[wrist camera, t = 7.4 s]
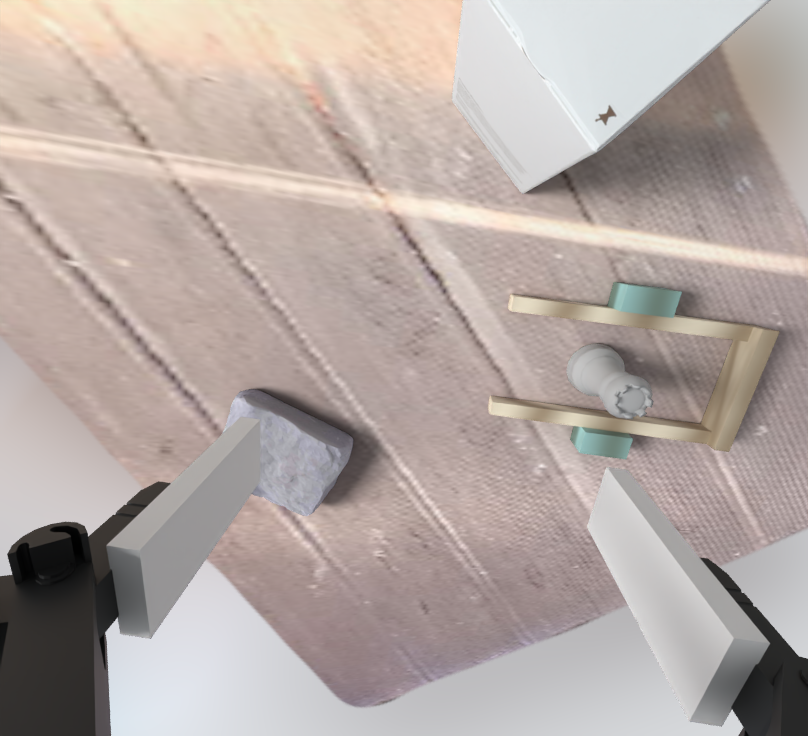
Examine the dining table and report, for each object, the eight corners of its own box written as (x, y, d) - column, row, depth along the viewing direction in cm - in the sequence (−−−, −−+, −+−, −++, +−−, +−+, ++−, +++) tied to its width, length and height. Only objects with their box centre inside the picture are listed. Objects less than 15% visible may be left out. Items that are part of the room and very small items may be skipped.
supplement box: (624, 107, 29) (810, -22, 15) (521, 197, 31) (596, 161, 17) (549, -7, 27) (678, -279, 13) (447, 97, 29) (460, -37, 15)
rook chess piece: (557, 383, 35) (588, 422, 28) (576, 335, 34) (616, 363, 26) (605, 396, 35) (650, 439, 28) (627, 350, 34) (681, 381, 26)
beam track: (484, 427, 37) (487, 440, 35) (515, 269, 33) (521, 271, 30) (701, 457, 37) (720, 472, 34) (764, 300, 32) (790, 305, 30)
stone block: (328, 495, 43) (363, 431, 38) (311, 531, 39) (347, 464, 34) (228, 445, 43) (251, 374, 38) (200, 476, 38) (221, 401, 33)
